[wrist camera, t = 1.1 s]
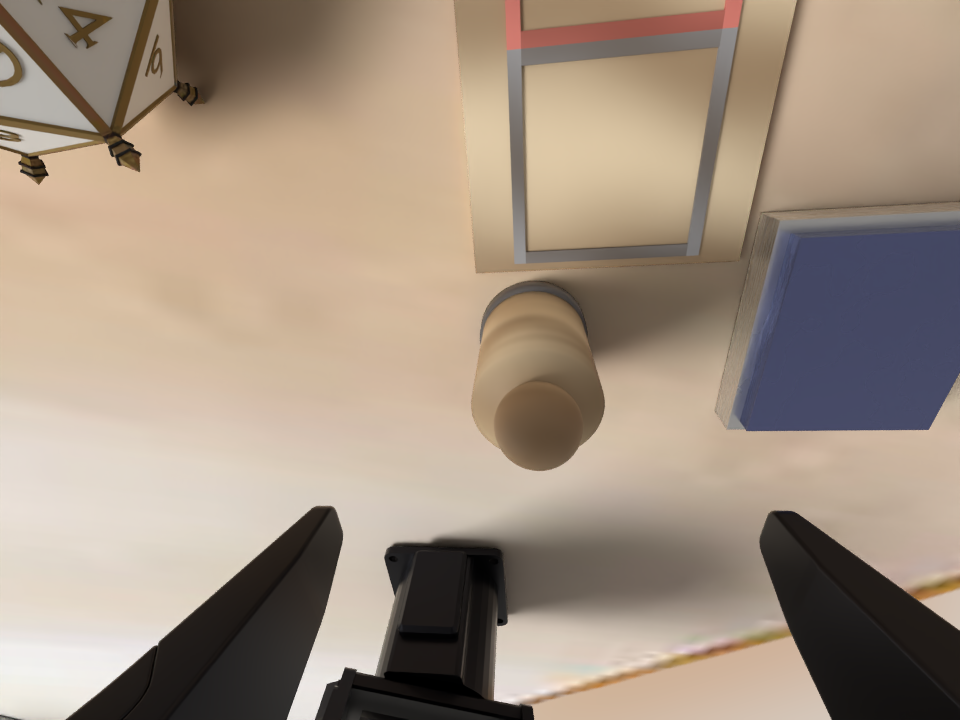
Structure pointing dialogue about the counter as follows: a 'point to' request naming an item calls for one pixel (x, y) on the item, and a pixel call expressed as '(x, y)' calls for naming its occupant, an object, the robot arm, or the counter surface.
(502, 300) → the stamp
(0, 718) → the toy computer monitor
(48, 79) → the game die
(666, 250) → the card sheet
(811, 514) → the counter surface
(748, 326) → the ink pad
